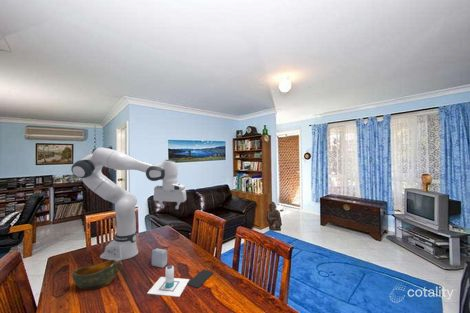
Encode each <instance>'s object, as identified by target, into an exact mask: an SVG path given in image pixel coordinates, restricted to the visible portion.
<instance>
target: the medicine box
mask: <svg viewBox="0 0 470 313" xmlns="http://www.w3.org/2000/svg"><path fill="white" fill-rule="evenodd" d="M167 264H168V250H167V249H163V248H158V247H156V248H154V249H153V250H152V251H151V266H153V267H158V268H162V269H163V268H164V267H166V265H167Z"/></svg>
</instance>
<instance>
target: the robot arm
mask: <svg viewBox="0 0 470 313" xmlns="http://www.w3.org/2000/svg"><path fill="white" fill-rule="evenodd" d="M106 168H108V169H111V170H117V171H129V170H131V171H134V170H135V171H139V172H143V173H145V177H146V178H147V179H148V180H149V181H151V182H157V181H162V185H156V186H154V188H153V191H154V192H153V201H154V202H158V204H159V205H160V209H165V204H163V203H164V202H168V203H169V202H174V203H176V205H175V207H174V208H175V210H179V206H180V205H181V203H185V202H186V201H187V191H186V189H185V188H186V185H185V184H181V183H180V182H178V172H179V171H178V163H177V161H175V160H173V159H172V160H171V159H164V160H163V161H160V162H159V163H155V164H152V163H148V162H145V161H143V160H140V159H136V158H134V157H132V156H131V155H128V154H126V153H124V152H121V151H119V150H116V149H112V148H107V147H103V146H102V147H101V146H100V147H97V148H95V149H94V151H93V152H91V153H89V154H87V155H85V156H84V157H82V158H81V159H79V160H77V161H75V162H74V163H73V164H72V166H71V168H70V169H71V170H70V171H71V173H72V174H73V175H74V177H76V178H78V179H81V180H82V183H83V184H84V185H85V186H86V187H87V188H88V189H90V190H91V191H92V192H93V193H95V194H96V195H98V196H99V197H100V198H102V199H103V200H105V201H108V202H110V203H112V204H113V205H114V211H115V217H116V233H115V234H114V235H113V236H112V238H114V239H113V240H111V242H110V243H108V244H107V245H106V246H105V247H104V252H102V253H101V254H100V255H99V258H100V259H104V260H106V261H110V260H115V261H116V262H118V261H123V260H127V259H131V258H133V257H135V256H137V255H138V254H139V250H138V245H137V244H138V243H137V238H138V237H137V235H138V234H137V219H136V206H137V203H138V199H137V197H136V196H135V195H134V194H132V193H131V192H129V191H127V190H126V189H124V188H122V187H120V185H118V184H116V183H115V182H113V181H112V180H111V179H109V178H108V177H107V176H106V175H104V174H103V172H102V171H103V170H105V169H106Z"/></svg>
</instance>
